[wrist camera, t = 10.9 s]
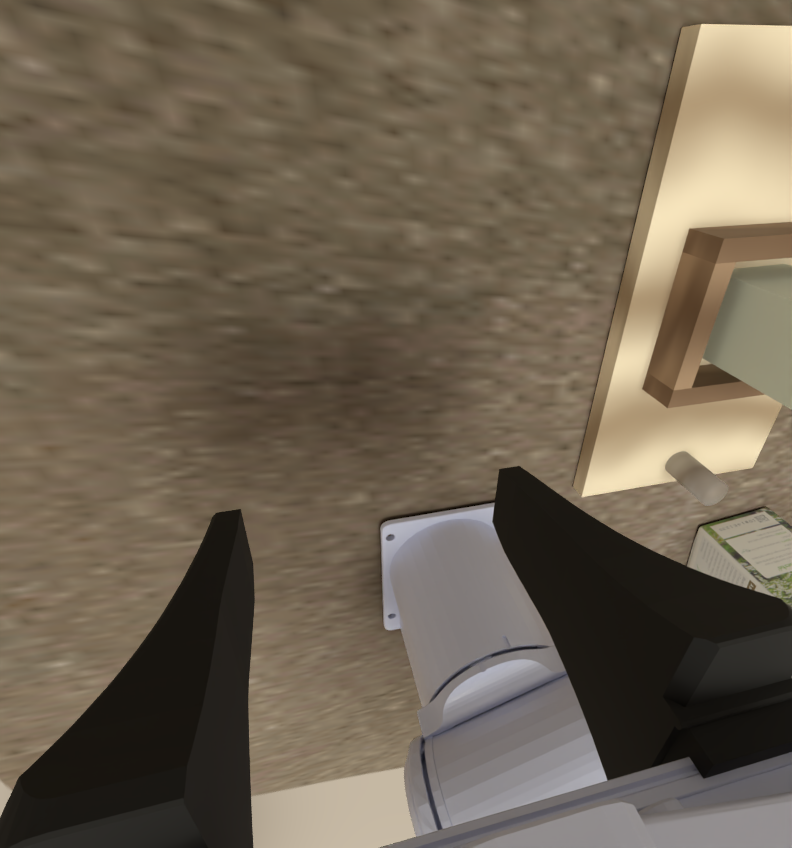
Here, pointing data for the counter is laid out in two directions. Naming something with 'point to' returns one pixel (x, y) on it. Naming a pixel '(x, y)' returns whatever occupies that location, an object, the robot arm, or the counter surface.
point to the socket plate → (696, 269)
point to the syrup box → (747, 552)
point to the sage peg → (756, 330)
